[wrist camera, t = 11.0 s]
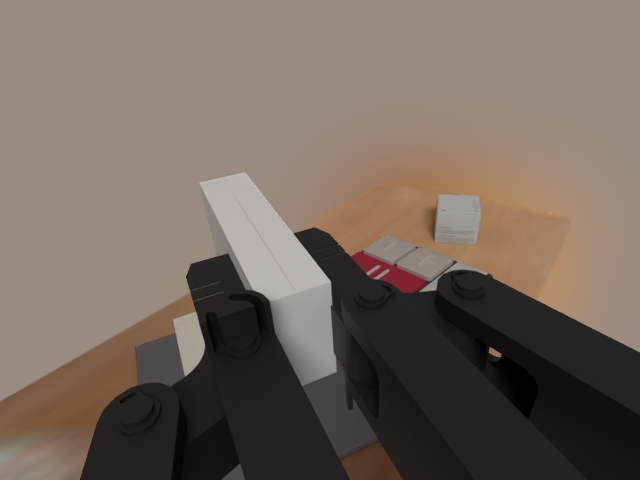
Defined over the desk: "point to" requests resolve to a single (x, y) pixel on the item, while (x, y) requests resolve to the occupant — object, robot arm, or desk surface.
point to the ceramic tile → (189, 341)
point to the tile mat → (324, 394)
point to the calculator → (406, 264)
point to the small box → (457, 219)
